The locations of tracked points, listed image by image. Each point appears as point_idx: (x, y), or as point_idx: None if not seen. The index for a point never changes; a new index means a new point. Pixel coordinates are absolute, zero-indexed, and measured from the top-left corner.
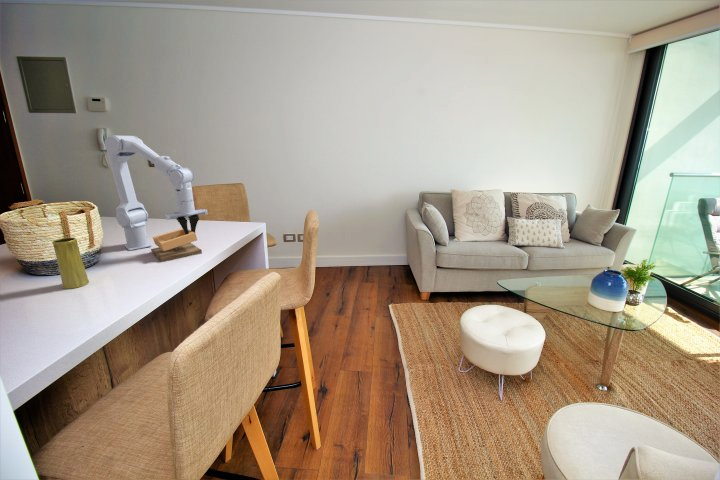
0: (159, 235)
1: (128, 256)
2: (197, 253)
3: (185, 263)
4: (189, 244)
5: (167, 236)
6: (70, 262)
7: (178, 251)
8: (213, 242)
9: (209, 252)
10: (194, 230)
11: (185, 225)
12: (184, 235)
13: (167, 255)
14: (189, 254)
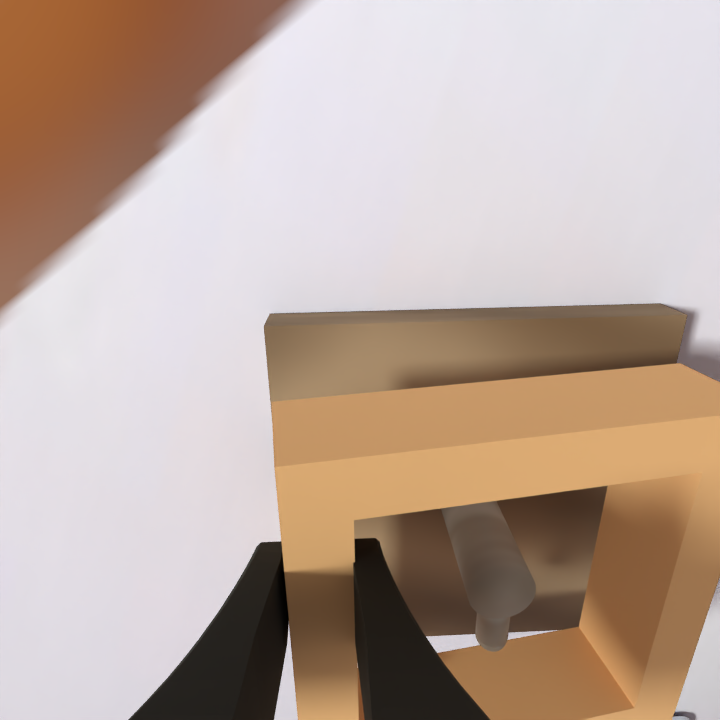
0: None
1: None
2: (314, 315)
3: (520, 79)
4: None
5: (529, 694)
6: None
7: None
8: (84, 575)
9: (192, 292)
10: (251, 583)
11: (409, 680)
12: (441, 491)
13: (605, 361)
14: (399, 313)
